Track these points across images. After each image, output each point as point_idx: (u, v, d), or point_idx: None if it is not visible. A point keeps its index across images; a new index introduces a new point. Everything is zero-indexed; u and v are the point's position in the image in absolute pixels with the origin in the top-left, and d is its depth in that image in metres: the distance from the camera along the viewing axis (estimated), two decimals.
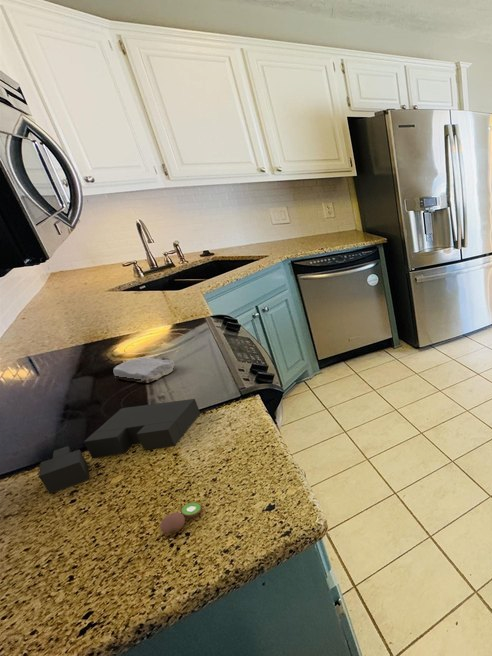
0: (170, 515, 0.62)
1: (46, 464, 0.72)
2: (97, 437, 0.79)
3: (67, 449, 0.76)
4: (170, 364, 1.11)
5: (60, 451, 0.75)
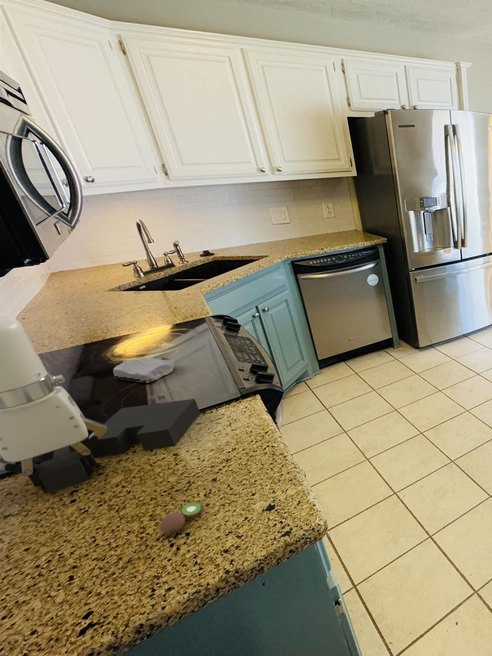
0: (170, 515, 0.62)
1: (46, 464, 0.72)
2: None
3: (67, 449, 0.76)
4: (170, 364, 1.11)
5: (60, 451, 0.75)
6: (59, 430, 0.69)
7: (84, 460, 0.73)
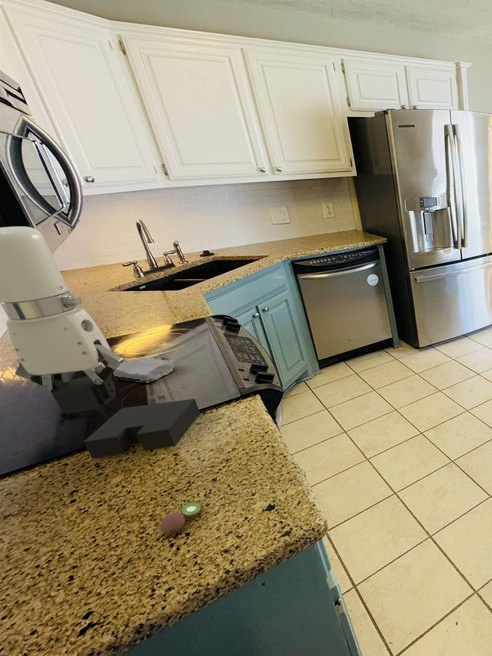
0: (170, 515, 0.62)
1: (71, 384, 0.71)
2: (97, 437, 0.79)
3: None
4: (170, 364, 1.11)
5: None
6: (68, 353, 0.67)
7: (96, 389, 0.70)
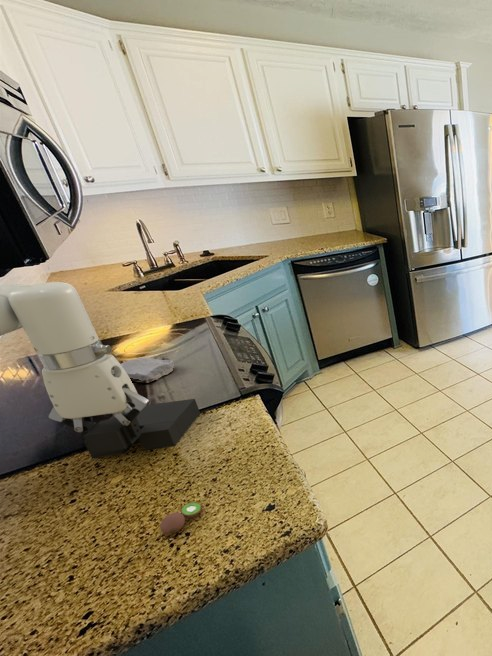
0: (170, 515, 0.62)
1: (100, 425, 0.75)
2: None
3: None
4: (170, 364, 1.11)
5: None
6: (98, 398, 0.71)
7: (123, 430, 0.74)
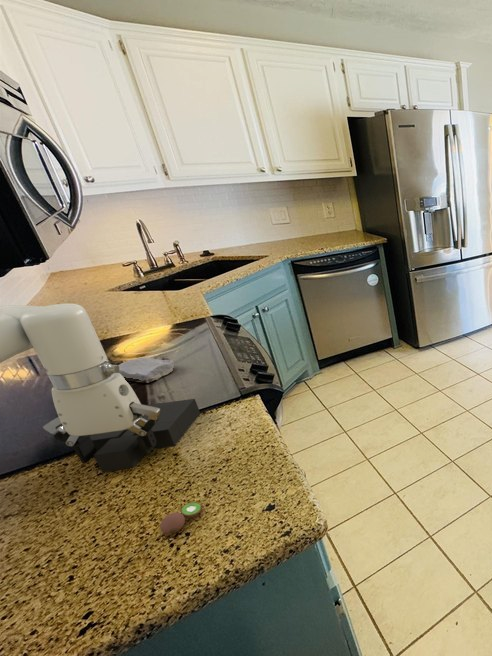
0: (170, 515, 0.62)
1: (109, 443, 0.77)
2: (97, 437, 0.79)
3: None
4: (170, 364, 1.11)
5: (130, 431, 0.80)
6: (106, 416, 0.72)
7: (140, 440, 0.76)
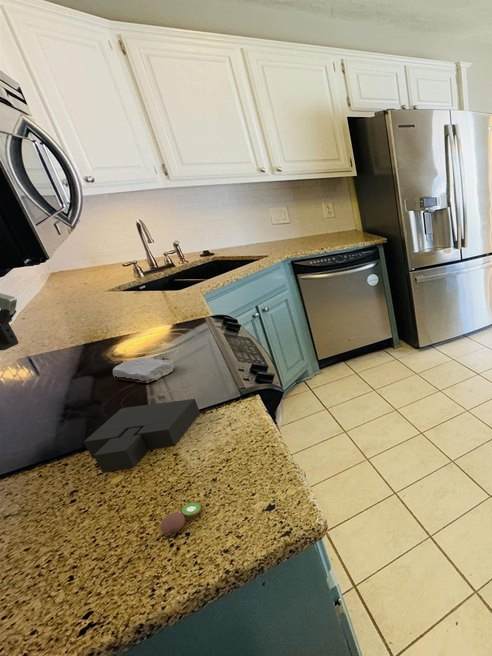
0: (170, 515, 0.62)
1: (109, 443, 0.77)
2: (97, 437, 0.79)
3: (135, 431, 0.80)
4: (170, 364, 1.11)
5: (130, 431, 0.80)
6: None
7: None
